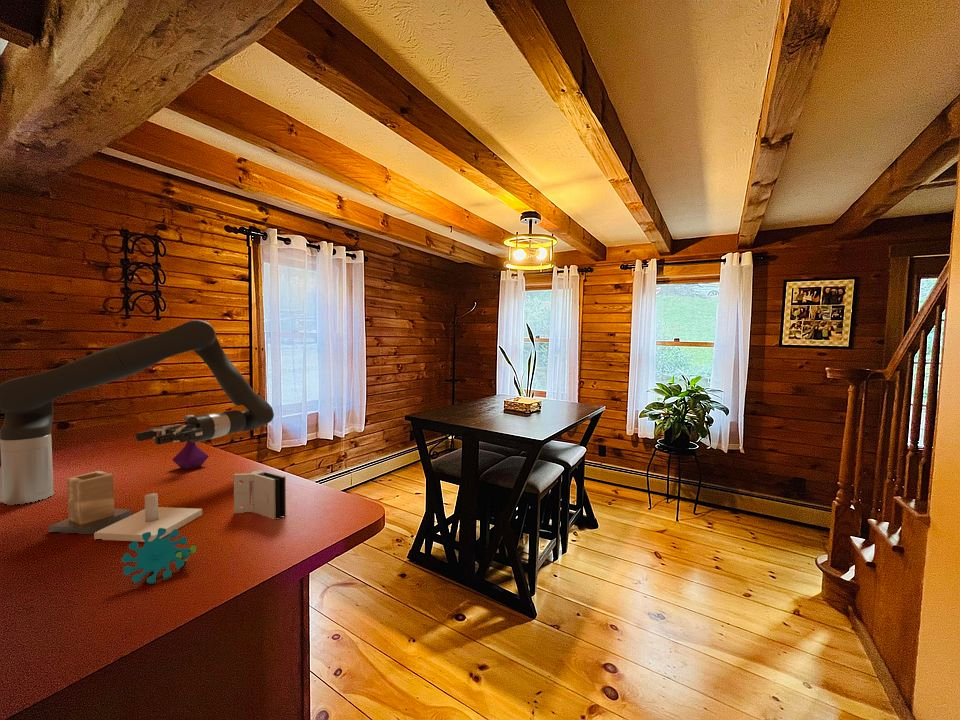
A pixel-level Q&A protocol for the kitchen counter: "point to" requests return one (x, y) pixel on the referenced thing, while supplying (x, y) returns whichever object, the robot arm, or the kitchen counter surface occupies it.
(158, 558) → the gear
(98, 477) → the sleeve
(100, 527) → the stand
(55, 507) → the kitchen counter surface
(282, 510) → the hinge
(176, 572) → the kitchen counter surface
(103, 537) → the board
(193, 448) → the perfume bottle
